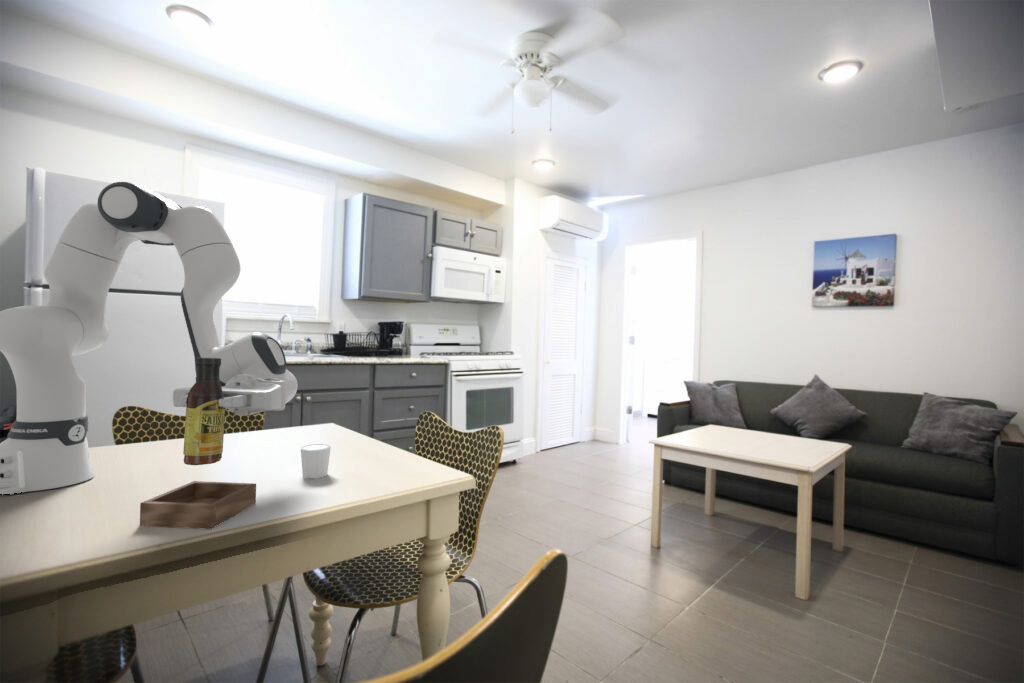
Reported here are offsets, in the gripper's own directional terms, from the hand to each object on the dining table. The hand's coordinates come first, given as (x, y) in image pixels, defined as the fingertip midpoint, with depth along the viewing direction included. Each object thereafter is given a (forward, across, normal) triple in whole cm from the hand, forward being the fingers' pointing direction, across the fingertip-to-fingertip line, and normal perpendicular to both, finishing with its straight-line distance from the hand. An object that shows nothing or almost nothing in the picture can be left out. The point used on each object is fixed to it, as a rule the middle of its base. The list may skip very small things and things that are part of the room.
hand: (202, 402), depth 88 cm
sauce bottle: (-1, 0, +12) cm, 12 cm away
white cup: (-27, +9, +21) cm, 36 cm away
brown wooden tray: (0, 0, +21) cm, 21 cm away
